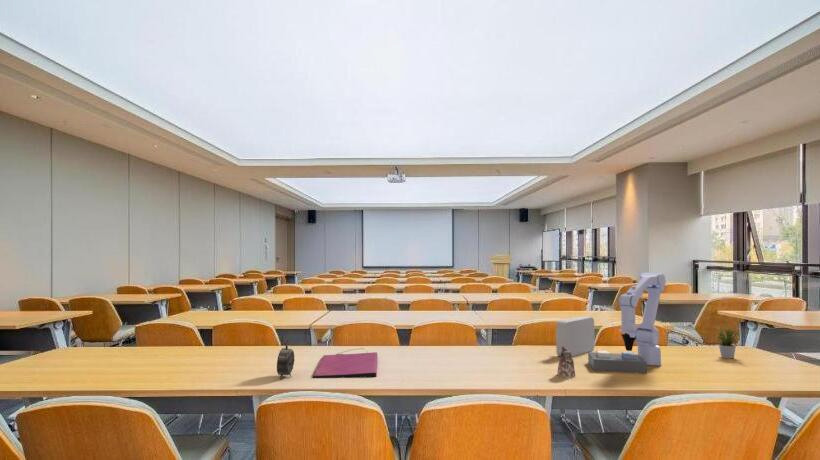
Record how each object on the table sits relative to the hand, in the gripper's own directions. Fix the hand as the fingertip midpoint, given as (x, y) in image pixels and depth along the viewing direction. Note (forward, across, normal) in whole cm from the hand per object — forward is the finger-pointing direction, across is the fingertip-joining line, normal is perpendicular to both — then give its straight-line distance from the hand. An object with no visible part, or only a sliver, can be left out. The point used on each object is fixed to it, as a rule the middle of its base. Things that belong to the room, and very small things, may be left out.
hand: (628, 350), depth 203 cm
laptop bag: (+9, +24, -127) cm, 130 cm away
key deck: (+8, 0, -6) cm, 10 cm away
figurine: (+9, +18, -30) cm, 36 cm away
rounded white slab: (+8, -26, -20) cm, 34 cm away
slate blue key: (+6, 0, 0) cm, 6 cm away
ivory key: (+6, 0, -11) cm, 12 cm away
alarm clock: (+9, +48, -146) cm, 154 cm away
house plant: (+8, -34, +56) cm, 66 cm away
